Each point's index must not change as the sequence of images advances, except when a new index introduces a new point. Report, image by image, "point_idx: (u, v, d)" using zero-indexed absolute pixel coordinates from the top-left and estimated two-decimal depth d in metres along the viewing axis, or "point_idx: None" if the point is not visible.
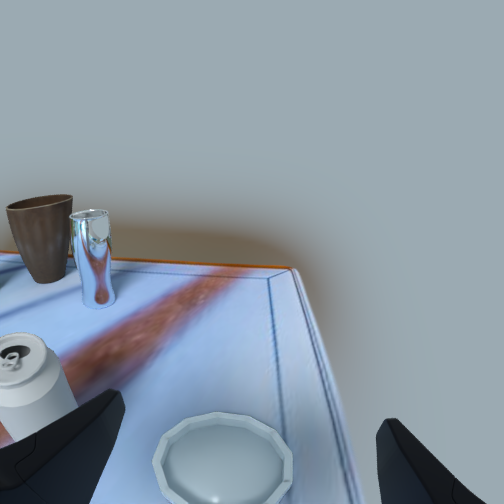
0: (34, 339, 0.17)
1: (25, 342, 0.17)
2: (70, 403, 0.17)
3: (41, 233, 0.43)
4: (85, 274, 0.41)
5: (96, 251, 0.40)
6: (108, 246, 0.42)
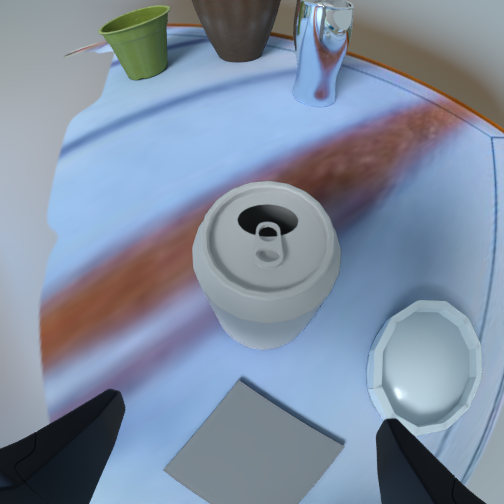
0: (304, 200, 0.14)
1: (284, 200, 0.15)
2: None
3: (242, 9, 0.30)
4: (310, 66, 0.30)
5: (333, 45, 0.26)
6: (347, 42, 0.27)
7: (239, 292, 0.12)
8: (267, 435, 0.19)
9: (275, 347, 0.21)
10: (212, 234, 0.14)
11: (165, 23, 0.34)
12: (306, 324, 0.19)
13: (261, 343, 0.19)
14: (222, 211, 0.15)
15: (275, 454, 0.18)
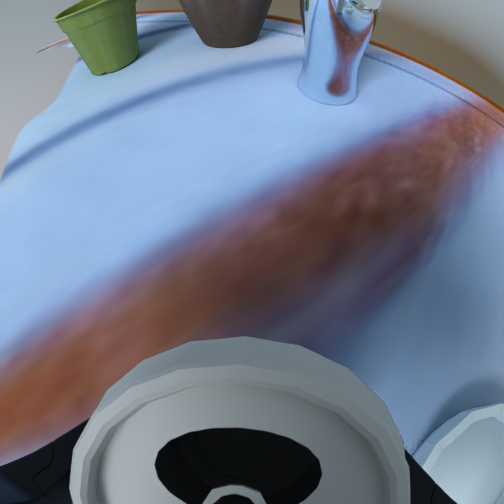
0: (348, 422, 0.04)
1: (287, 413, 0.04)
2: None
3: None
4: (324, 47, 0.20)
5: (359, 16, 0.16)
6: (377, 15, 0.16)
7: None
8: None
9: (266, 498, 0.11)
10: (100, 486, 0.04)
11: (132, 2, 0.23)
12: None
13: None
14: (116, 433, 0.04)
15: None
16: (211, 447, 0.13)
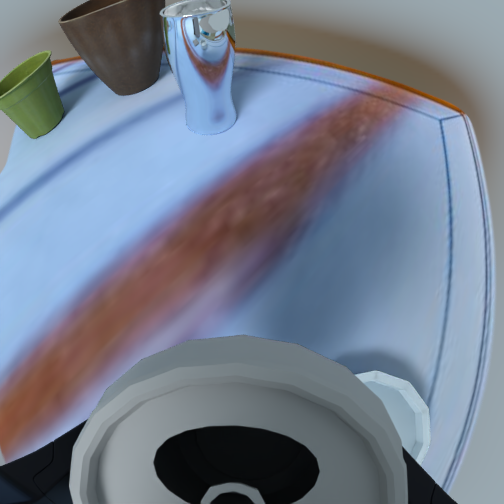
0: (345, 420, 0.04)
1: (285, 411, 0.05)
2: None
3: (117, 38, 0.25)
4: (191, 91, 0.26)
5: (210, 60, 0.22)
6: (231, 51, 0.23)
7: None
8: None
9: (265, 497, 0.11)
10: (99, 484, 0.04)
11: (48, 72, 0.28)
12: None
13: None
14: (115, 431, 0.04)
15: None
16: (211, 446, 0.13)
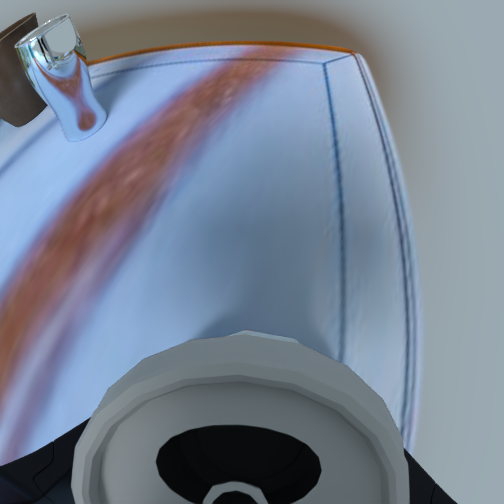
0: (347, 419, 0.04)
1: (287, 410, 0.05)
2: None
3: None
4: (54, 104, 0.23)
5: (59, 72, 0.20)
6: (77, 57, 0.21)
7: None
8: None
9: (266, 497, 0.11)
10: (102, 484, 0.04)
11: None
12: None
13: None
14: (117, 431, 0.04)
15: None
16: (212, 446, 0.13)
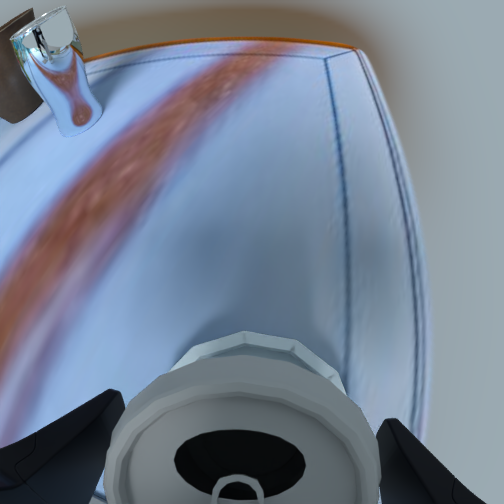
0: (325, 425, 0.05)
1: (278, 417, 0.06)
2: None
3: None
4: (49, 98, 0.22)
5: (54, 64, 0.19)
6: (72, 49, 0.20)
7: None
8: None
9: (266, 492, 0.12)
10: (128, 481, 0.05)
11: None
12: None
13: None
14: (142, 437, 0.05)
15: None
16: (215, 445, 0.14)
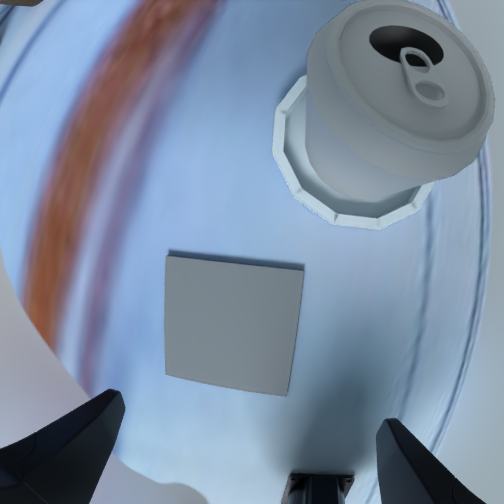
0: (444, 26, 0.06)
1: (418, 23, 0.07)
2: None
3: None
4: None
5: None
6: None
7: (408, 142, 0.07)
8: (220, 294, 0.21)
9: (383, 196, 0.17)
10: (341, 61, 0.08)
11: None
12: None
13: (379, 195, 0.15)
14: (344, 31, 0.07)
15: (239, 310, 0.21)
16: None
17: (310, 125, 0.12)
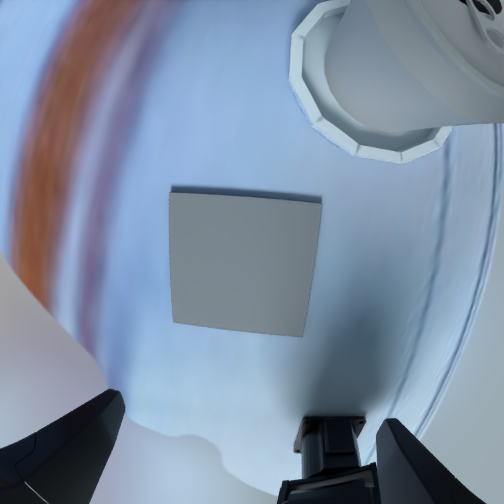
0: None
1: None
2: None
3: None
4: None
5: None
6: None
7: (483, 84, 0.05)
8: (231, 231, 0.20)
9: None
10: None
11: None
12: None
13: (410, 129, 0.12)
14: None
15: (253, 247, 0.20)
16: None
17: (352, 50, 0.09)
